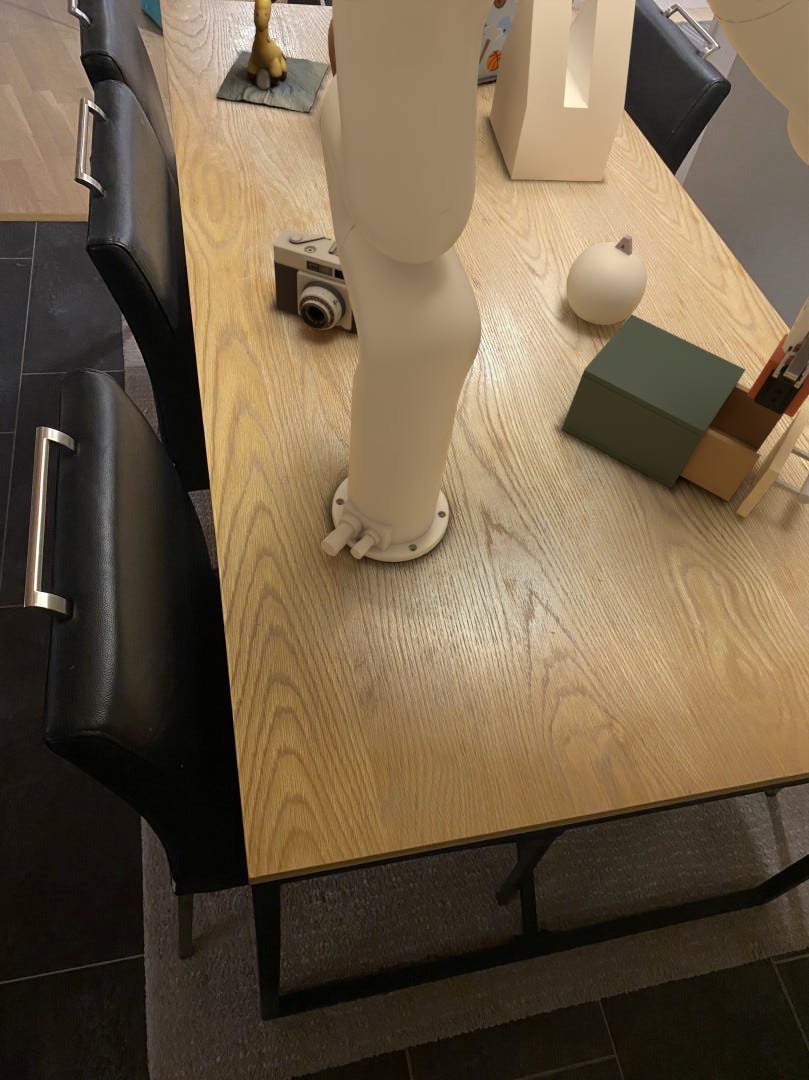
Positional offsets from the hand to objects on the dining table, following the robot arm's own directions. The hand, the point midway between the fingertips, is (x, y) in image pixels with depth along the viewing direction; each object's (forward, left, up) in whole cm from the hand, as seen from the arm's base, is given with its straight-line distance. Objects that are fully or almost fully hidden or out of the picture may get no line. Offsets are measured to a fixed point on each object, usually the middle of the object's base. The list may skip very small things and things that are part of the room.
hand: (778, 390), depth 79 cm
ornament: (+16, +25, -14) cm, 33 cm away
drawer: (0, 0, -13) cm, 13 cm away
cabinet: (0, +11, -13) cm, 18 cm away
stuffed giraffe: (+35, +99, -14) cm, 106 cm away
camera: (-10, +52, -14) cm, 55 cm away
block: (0, 0, 0) cm, 0 cm away
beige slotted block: (+50, +52, -14) cm, 74 cm away
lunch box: (+67, +74, -14) cm, 101 cm away
